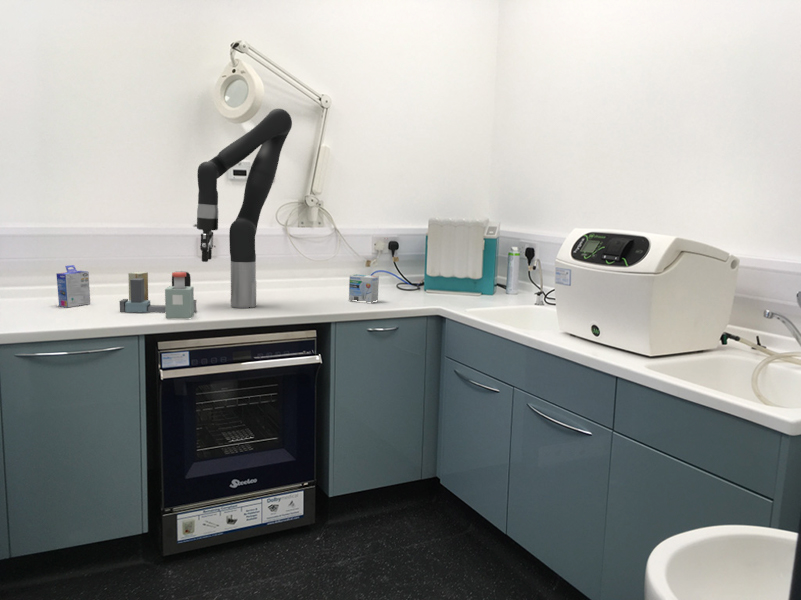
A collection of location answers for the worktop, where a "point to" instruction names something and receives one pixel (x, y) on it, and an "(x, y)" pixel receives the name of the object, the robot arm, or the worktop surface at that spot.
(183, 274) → the red button
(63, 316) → the worktop surface
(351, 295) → the light bulb box
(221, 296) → the worktop surface
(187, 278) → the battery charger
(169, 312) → the button housing
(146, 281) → the skincare box
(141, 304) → the carriage
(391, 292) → the worktop surface
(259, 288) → the worktop surface
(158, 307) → the rail
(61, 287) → the ink cartridge box
